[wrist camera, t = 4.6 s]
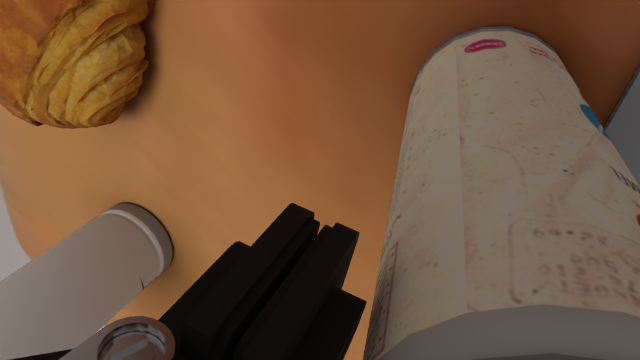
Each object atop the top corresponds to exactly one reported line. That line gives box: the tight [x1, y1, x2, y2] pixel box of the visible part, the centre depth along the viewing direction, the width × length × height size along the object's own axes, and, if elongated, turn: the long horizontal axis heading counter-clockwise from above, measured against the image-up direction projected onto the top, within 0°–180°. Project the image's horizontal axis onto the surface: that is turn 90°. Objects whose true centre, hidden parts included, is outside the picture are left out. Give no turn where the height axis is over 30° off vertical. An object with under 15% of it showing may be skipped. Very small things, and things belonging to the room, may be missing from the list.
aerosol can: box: [363, 26, 640, 360], centre depth 14 cm, size 7×7×20 cm
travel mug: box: [0, 203, 172, 360], centre depth 30 cm, size 6×7×20 cm
